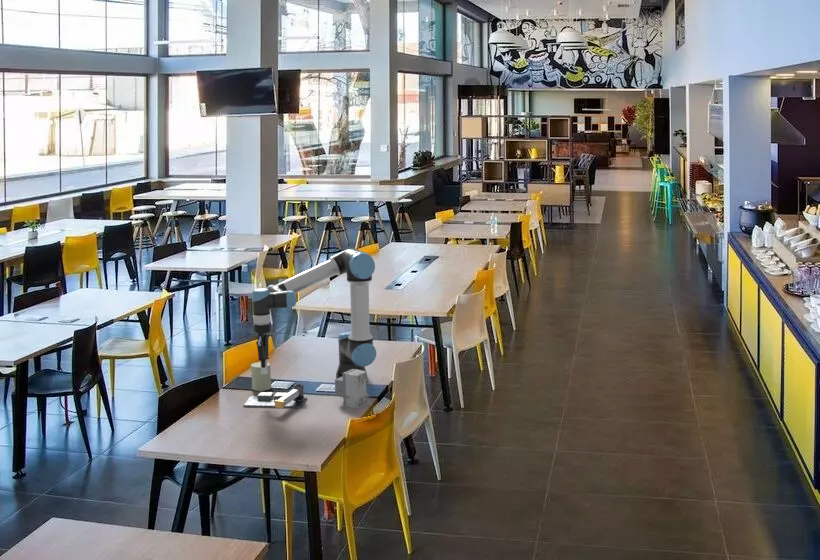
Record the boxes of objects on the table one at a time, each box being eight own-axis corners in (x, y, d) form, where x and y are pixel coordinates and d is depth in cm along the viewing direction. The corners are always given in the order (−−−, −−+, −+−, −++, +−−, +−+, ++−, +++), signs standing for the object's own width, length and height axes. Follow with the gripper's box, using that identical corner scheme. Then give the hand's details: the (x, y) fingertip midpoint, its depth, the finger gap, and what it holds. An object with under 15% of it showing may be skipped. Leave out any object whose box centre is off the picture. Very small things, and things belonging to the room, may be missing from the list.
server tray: (306, 398, 427) (306, 392, 427) (300, 408, 415) (300, 401, 414) (251, 397, 430) (251, 391, 430) (243, 406, 418) (243, 400, 417)
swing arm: (296, 395, 427) (296, 381, 426) (305, 396, 426) (304, 382, 425) (274, 411, 407) (274, 396, 406) (283, 412, 406) (283, 397, 404)
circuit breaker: (343, 398, 427) (342, 366, 424) (368, 403, 419) (367, 371, 416) (332, 402, 421) (331, 370, 418) (358, 408, 413) (357, 375, 410)
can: (262, 392, 438) (261, 367, 435) (247, 389, 442) (246, 364, 440) (275, 386, 445) (274, 362, 443) (260, 383, 450) (259, 359, 448)
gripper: (257, 319, 426) (260, 369, 431) (249, 326, 414) (252, 377, 418) (273, 319, 425) (276, 369, 430) (266, 326, 413) (268, 378, 417)
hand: (264, 373), depth 424 cm, fingers closed
